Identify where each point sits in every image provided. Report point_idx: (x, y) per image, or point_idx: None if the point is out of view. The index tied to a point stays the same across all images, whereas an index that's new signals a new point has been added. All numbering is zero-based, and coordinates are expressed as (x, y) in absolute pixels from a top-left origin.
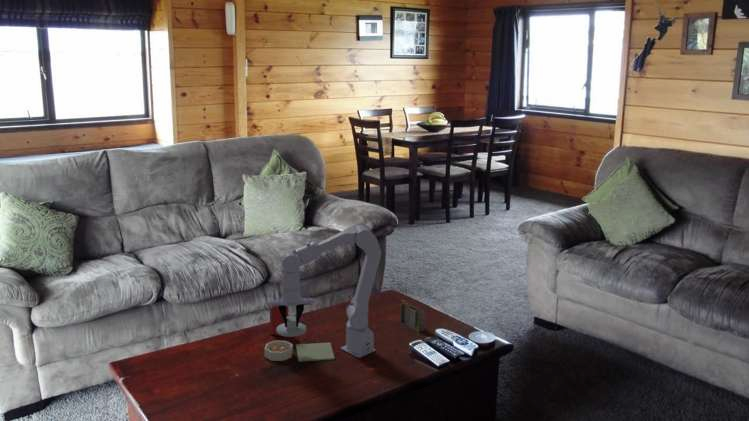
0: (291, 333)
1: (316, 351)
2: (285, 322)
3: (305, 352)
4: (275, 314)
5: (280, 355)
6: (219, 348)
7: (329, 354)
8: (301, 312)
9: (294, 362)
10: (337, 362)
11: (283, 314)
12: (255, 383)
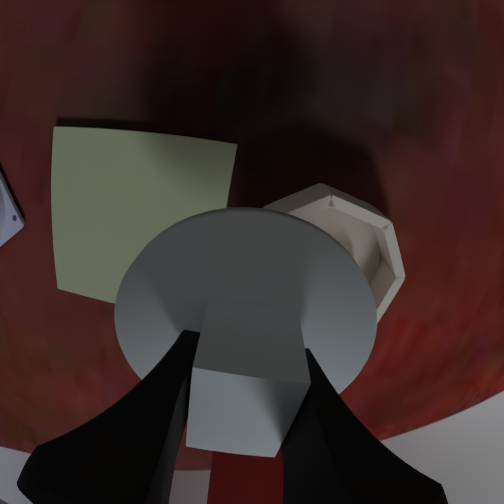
0: (275, 245)
1: (120, 221)
2: (320, 381)
3: None
4: (275, 487)
5: (339, 194)
6: (479, 358)
7: (67, 170)
8: (79, 438)
9: (262, 142)
10: (54, 93)
11: (378, 461)
12: (479, 31)
